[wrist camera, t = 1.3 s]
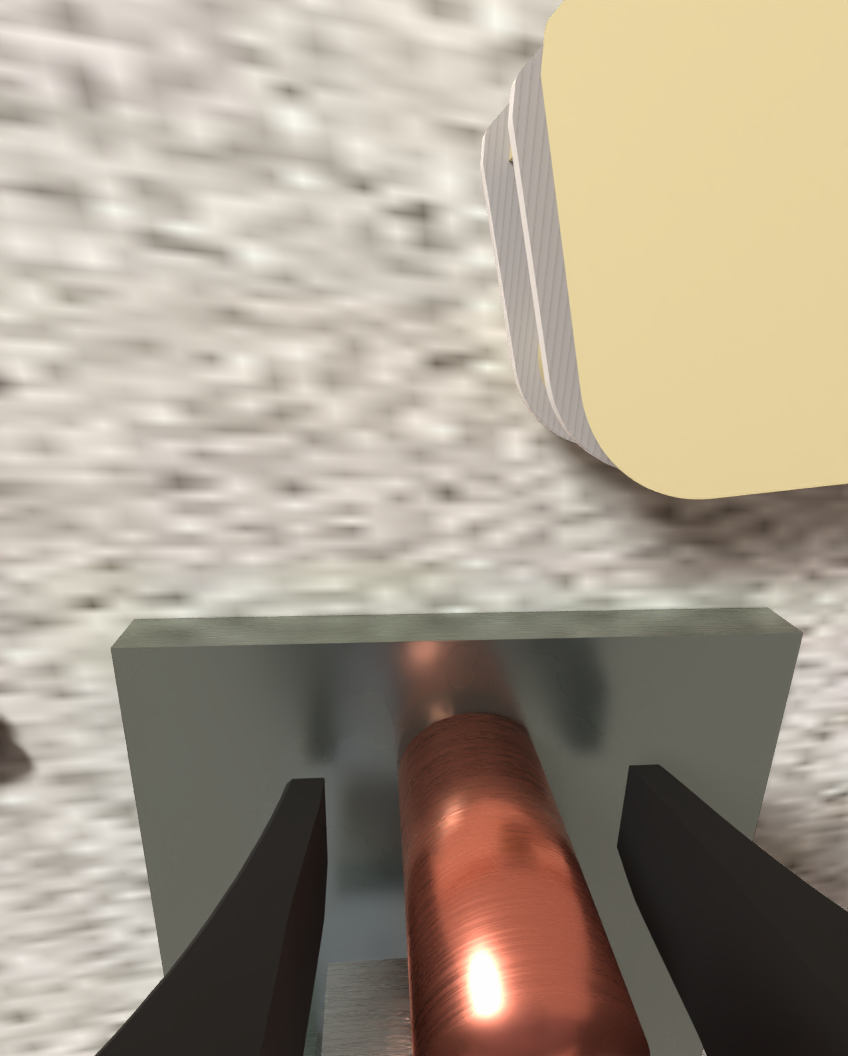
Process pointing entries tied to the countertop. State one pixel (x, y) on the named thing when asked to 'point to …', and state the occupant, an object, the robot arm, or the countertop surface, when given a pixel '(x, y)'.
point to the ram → (485, 918)
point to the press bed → (407, 709)
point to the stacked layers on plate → (681, 239)
